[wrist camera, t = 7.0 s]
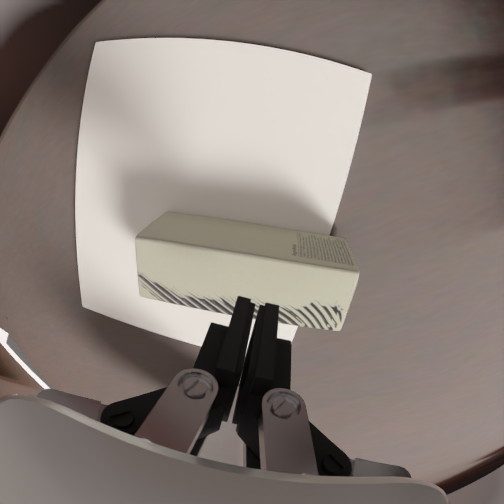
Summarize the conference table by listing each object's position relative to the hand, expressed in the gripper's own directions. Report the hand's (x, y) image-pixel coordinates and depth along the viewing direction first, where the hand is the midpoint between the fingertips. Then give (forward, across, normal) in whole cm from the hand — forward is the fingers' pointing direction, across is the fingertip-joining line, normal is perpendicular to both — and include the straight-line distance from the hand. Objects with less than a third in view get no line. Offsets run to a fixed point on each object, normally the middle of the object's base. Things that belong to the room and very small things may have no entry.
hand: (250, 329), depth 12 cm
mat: (+10, +6, -1) cm, 12 cm away
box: (+7, -6, 0) cm, 9 cm away
